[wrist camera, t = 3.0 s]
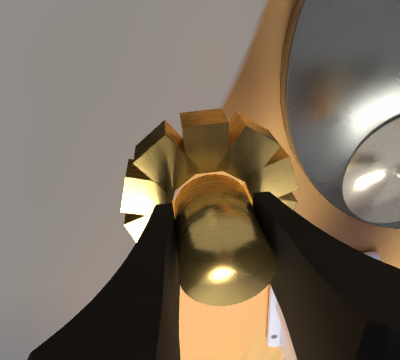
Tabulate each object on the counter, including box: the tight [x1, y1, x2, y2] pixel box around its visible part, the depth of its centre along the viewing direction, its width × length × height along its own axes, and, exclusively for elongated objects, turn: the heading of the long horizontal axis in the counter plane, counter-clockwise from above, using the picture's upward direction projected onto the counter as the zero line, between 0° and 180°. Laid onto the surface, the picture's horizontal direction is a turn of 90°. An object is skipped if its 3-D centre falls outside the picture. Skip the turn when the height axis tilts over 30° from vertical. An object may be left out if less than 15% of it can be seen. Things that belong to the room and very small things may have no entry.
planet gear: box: [121, 109, 299, 306], centre depth 12 cm, size 7×7×5 cm
